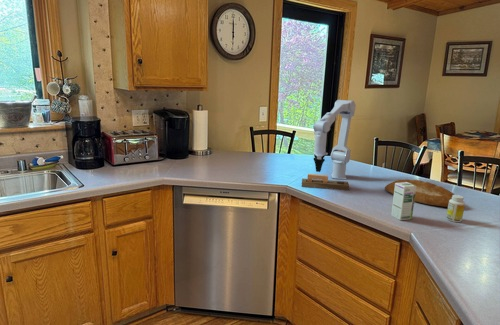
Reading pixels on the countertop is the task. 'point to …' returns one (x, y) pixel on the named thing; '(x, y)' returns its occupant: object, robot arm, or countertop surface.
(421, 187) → the bread
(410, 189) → the syrup box
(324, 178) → the tan rectangular block
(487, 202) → the countertop surface
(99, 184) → the countertop surface
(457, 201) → the supplement bottle
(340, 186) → the wooden board with holes
